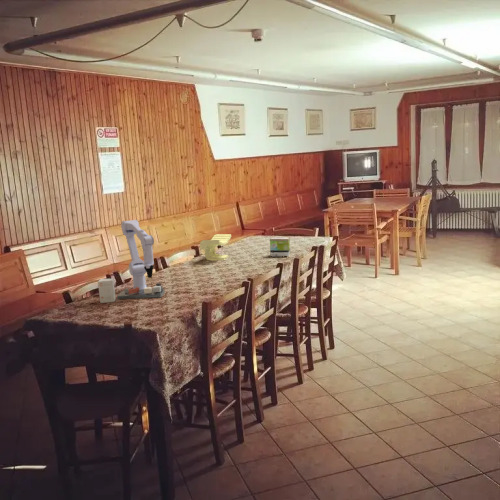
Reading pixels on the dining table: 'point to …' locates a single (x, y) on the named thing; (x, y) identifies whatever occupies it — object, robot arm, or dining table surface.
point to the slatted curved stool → (211, 244)
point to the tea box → (279, 246)
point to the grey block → (157, 288)
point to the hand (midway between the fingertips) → (150, 277)
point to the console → (141, 294)
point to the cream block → (147, 290)
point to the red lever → (131, 290)
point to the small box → (106, 290)
